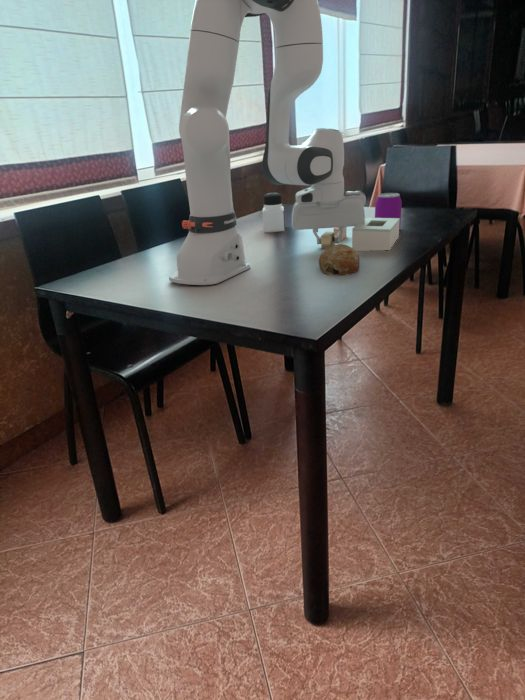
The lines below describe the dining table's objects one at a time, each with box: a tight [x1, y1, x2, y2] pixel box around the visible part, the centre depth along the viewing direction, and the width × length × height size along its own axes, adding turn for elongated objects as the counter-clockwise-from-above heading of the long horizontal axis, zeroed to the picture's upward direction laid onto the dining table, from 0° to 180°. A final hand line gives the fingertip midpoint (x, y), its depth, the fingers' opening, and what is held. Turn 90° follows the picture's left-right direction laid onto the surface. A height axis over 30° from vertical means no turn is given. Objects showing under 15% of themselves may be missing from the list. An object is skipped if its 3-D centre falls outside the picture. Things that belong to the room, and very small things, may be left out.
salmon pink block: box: [333, 227, 347, 242], centre depth 147 cm, size 5×2×4 cm, turn 156°
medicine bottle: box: [261, 192, 286, 234], centre depth 166 cm, size 7×7×12 cm
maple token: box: [320, 230, 336, 250], centre depth 140 cm, size 5×2×4 cm, turn 156°
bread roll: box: [318, 243, 360, 276], centre depth 119 cm, size 10×10×8 cm
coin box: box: [351, 217, 400, 252], centre depth 137 cm, size 14×10×7 cm
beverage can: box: [374, 192, 403, 231], centre depth 149 cm, size 8×8×12 cm
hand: (328, 243), depth 140 cm, fingers closed on maple token, 3 cm apart
